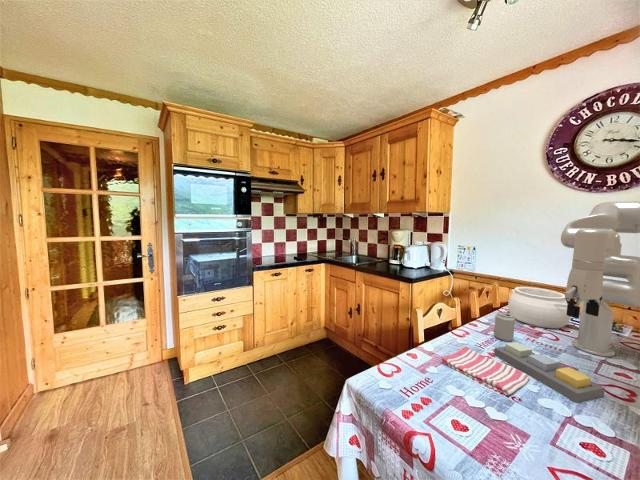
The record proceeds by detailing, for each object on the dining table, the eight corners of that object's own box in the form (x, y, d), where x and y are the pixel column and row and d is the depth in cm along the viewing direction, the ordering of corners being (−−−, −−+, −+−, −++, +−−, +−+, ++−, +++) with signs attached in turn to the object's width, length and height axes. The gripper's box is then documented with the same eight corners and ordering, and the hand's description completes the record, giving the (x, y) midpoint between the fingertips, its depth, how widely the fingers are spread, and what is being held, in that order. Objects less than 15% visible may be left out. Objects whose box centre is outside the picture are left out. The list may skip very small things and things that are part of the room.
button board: (516, 351, 108) (517, 344, 108) (603, 396, 81) (604, 387, 81) (494, 354, 105) (494, 348, 105) (576, 402, 78) (577, 393, 78)
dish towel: (462, 351, 108) (463, 344, 108) (530, 381, 89) (531, 372, 89) (440, 363, 99) (440, 355, 99) (510, 400, 80) (511, 389, 79)
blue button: (539, 361, 96) (540, 353, 96) (558, 370, 91) (558, 362, 90) (527, 363, 95) (528, 355, 95) (545, 372, 89) (546, 364, 89)
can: (516, 342, 116) (518, 317, 115) (498, 341, 117) (500, 315, 116) (508, 335, 123) (510, 311, 122) (490, 333, 125) (492, 310, 124)
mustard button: (567, 375, 88) (568, 367, 88) (590, 386, 82) (591, 377, 82) (555, 377, 86) (556, 369, 86) (576, 389, 81) (577, 380, 80)
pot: (494, 313, 153) (496, 286, 151) (528, 309, 159) (530, 284, 158) (546, 334, 125) (549, 301, 124) (585, 329, 132) (588, 298, 130)
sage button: (516, 349, 105) (516, 342, 105) (531, 356, 99) (532, 349, 99) (504, 350, 104) (505, 343, 103) (519, 358, 98) (520, 351, 98)
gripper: (591, 263, 91) (586, 310, 93) (555, 264, 87) (551, 313, 89) (620, 267, 84) (614, 318, 86) (583, 268, 80) (577, 322, 81)
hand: (582, 315), depth 87 cm, fingers open, 8 cm apart
